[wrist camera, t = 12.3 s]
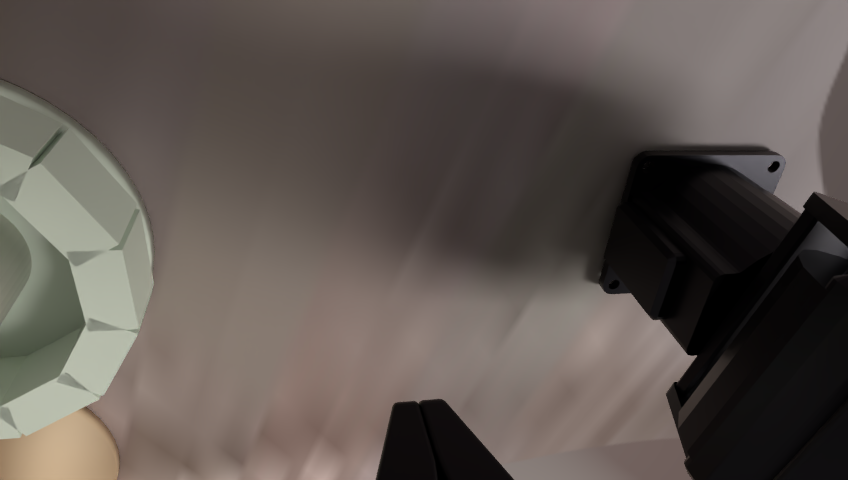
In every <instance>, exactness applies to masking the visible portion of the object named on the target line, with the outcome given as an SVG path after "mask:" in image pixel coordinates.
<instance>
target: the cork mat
mask: <svg viewBox="0 0 848 480" xmlns="http://www.w3.org/2000/svg"><path fill="white" fill-rule="evenodd" d="M119 466H120V457H119V451H118V447H117V445H116V442H115V439H114V438H113V436H112V434H111V433H110V431H109V429H108V428H107V427H106V426H105V425H104V423H103V422H102V421H101V420H100V419H99V418H98V417H97V416H96V415H95V414H94V413H92V412H91V411H90V410H89V409H87V408H86V407H83V408H81V409H79V410H77V411H75V412H73V413H71V414H69V415H67V416H65V417H63V418H61V419H59V420H57V421H55V422H53V423H52V424H50V425H48V426H46V427H44V428H42V429H40V430H38V431H36V432H34V433H32V434H30V435H28V436H25V435H24V434H23V433H22V435H21V437H20V438H12V439H0V480H117V476H118V472H119Z"/></svg>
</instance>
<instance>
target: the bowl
mask: <svg viewBox="0 0 848 480" xmlns="http://www.w3.org/2000/svg"><path fill="white" fill-rule="evenodd" d="M0 213H1V214H2V215H3V216H5V217H6V218H7V219H8V220H9V221H10V222H11V223H12V224H13V225H14V226H15V227H16V228H17V229H18V230H19V232H20V233H21V234H22V236H23V237H24V239H25V241H26V243H27V245H28V247H29V250H30V254H31V260H32V268H31V274H30V277H29V279H28V281H27V283H26V285H25V287H24V288H23V290H22V292H21V293H20V295H19V296H18V298H17V300H16V301H15V303H14V304H13V306H12V308H11V309H10V311H9V312H8V314H7V316H6V317H5V319H4V320H3V322H2V324H1V325H0V439H12V438H20V437H21V435H22V433H23V434H24V435H25V436H28V435H30V434H32V433H34V432H36V431H38V430H40V429H42V428H44V427H46V426H48V425H50V424H52V423H53V422H55V421H57V420H59V419H61V418H63V417H65V416H67V415H69V414H71V413H73V412H75V411H77V410H79V409H81V408H83V407H85V406H87V405H89V404H91V403H93V402H95V401H97V400H99V399H100V397H101V395H103V396H104V394H105V392H106V390H107V389H108V387H109V385H110V383H111V381H112V380H113V378H114V376H115V374H116V373H117V371H118V369H119V367H120V365H121V364H122V362H123V360H124V358H125V357H126V355H127V353H128V351H129V350H130V348H131V346H132V344H133V342H134V341H135V339H136V337H137V335H138V333H139V330H140V327H141V324H142V321H143V318H144V315H145V312H146V309H147V306H148V303H149V300H150V297H151V294H152V290H153V285H154V281H153V276H152V273H153V269H154V255H155V249H154V238H153V231H152V227H151V223H150V219H149V216H148V212H147V210H146V208H145V205H144V203H143V201H142V198H141V196H140V194H139V192H138V190H137V189H136V187H135V185H134V184H133V182H132V180H131V179H130V177H129V175H128V174H127V172H126V171H125V170H124V169H123V167H122V166H121V165H120V163H119V162H118V161H117V160H116V158H115V157H114V156H113V154H112V153H111V152H110V151H109V150H108V149H107V148H106V147H105V146H104V145H103V144H102V143H101V142H100V141H99V140H98V139H97V138H96V137H95V136H94V135H93V134H91V133H90V132H89V131H88V130H86V129H85V128H84V127H83V126H82V125H80V124H79V123H78V122H77V121H75V120H74V119H73V118H72V117H70V116H69V115H67V114H66V113H64V112H63V111H61V110H60V109H58V108H56V107H55V106H53V105H52V104H50V103H49V102H47V101H45V100H43V99H42V98H40V97H38V96H36V95H34V94H32V93H30V92H28V91H26V90H25V89H23V88H21V87H18V86H16V85H13V84H11V83H9V82H6V81H4V80H1V79H0Z"/></svg>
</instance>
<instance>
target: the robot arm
mask: <svg viewBox="0 0 848 480" xmlns="http://www.w3.org/2000/svg"><path fill="white" fill-rule="evenodd" d="M649 161H650V164H649V165H648V167H646V168H645V169H643V166H644V164H645V163H647V162H649ZM772 162H773V163H772ZM771 163H772V165H771V166H770V167H769V165H770V164H771ZM785 164H786V161H785V158H784V157H783V156H781V155H780V154H778V153H776V152H773V151H645V152H641V153H640V154H638V155H637V156H636V157H635V158H634V160H633V162H632V165H631V168H630V172H629V175H628V179H627V183H626V186H625V190H624V193H623V197H622V201H621V204H620V205H619V206H618V208H617V211H616V214H615V218H614V222H613V225H612V229H611V233H610V236H609V240H608V243H607V247H606V251H605V254H604V259H605V261H604V265H603V269H602V272H601V276H600V279H599V284H600V286H601V287H602V289H603V290H604V292H606V293H608V294H621V293H631V294H632V295H633V296H634V297H635V299H636V300H637V301H638V303H639V304H640V305H641V306H642V308H643V309H644V310H645V312H646V313H647V314H648V315H649V316H650V318H651V319H653V320H661V322H662V323H663V324H664V325H665V327H666V328H667V329H668V330H669V332H670V333H671V334H672V335H673V337H674V338H675V339H676V340H677V342H678V343H679V344H680V345H681V347H682V348H683V349H684V350H685V352H686V353H687V354H688V355H691V356H694V355H697V357H696V358H695V360H694V361H693V362H692V364H691V365H690V366H689V368H688V369H687V370H686V372H685V373H684V374H683V376H682V377H681V379H680V380H679V381H678V382H674V383H673V385H672V386H671V387H670V389H669V390H668V391H667V393H666V396H667V399H668V402H669V405H670V409H671V412H672V415H673V418H674V421H675V424H676V427H677V431H678V434H679V437H680V440H681V443H682V446H683V449H684V453H685V456H686V460H685V462H684V464H685V467H686V470H687V472H688V474H689V476H690V477H691V479H692V480H848V203H847V202H844V201H841V200H838V199H835V198H832V197H829V196H826V195H823V194H820V193H817V192H813V193H812V195H811V196H810V197H809V199H808V200H807V202H806V203H805V204H804V206H803V207H804V208H805V210H804V211H803V213H802V214H800V213H799V212H798V211H796V210H795V209H793V208H792V207H790V206H789V205H788V204H786V203H785V202H783V201H782V200H780V199H779V198H778V197H776V196H775V195H773V193H774V191H775V189H776V186H777V184H778V182H779V179H780V177H781V174H782V172H783V170H784V167H785ZM612 280H615V281H614V282H613V283H611V284H609V283H610V282H611V281H612ZM376 480H514V479H513V478H512V477H511V476H510V475H509V473H508V472H507V471H506V470H505V469H504V468H503V467H502V465H501V464H500V463H499V462H498V461H497V460H496V459H495V457H494V456H493V455H492V454H491V453H490V452H489V451H488V449H487V448H486V447H485V446H484V445H483V444H482V443H481V441H480V440H479V439H478V438H477V437H476V436H475V435H474V434H473V432H472V431H471V430H470V429H469V428H468V427H467V426H466V424H465V423H464V422H463V421H462V420H461V419H460V418H459V416H458V415H457V414H456V413H455V412H454V411H453V410H452V408H451V407H450V406H449V405H448V404H447V403H446V402H445V401H444V400H442V399H433V400H422V401H420V402H419V404H418V403H417V402H416V401H409V402H397V403H395V404H394V405H393V407H392V411H391V415H390V420H389V424H388V429H387V433H386V437H385V442H384V446H383V451H382V455H381V459H380V464H379V468H378V472H377V477H376Z"/></svg>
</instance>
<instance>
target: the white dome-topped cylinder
mask: <svg viewBox="0 0 848 480" xmlns="http://www.w3.org/2000/svg"><path fill="white" fill-rule="evenodd" d="M31 268H32V260H31V254H30V250H29V247H28V245H27V243H26V241H25V239H24V237H23V236H22V234H21V233H20V232H19V230H18V229H17V228H16V227H15V226H14V225H13V224H12V223H11V222H10V221H9V220H8V219H7V218H6V217H5V216H3V215H2V214H1V213H0V325H1V324H2V322H3V320H4V319H5V317H6V316H7V314H8V312H9V311H10V309H11V308H12V306H13V304H14V303H15V301H16V300H17V298H18V296H19V295H20V293H21V292H22V290H23V288H24V287H25V285H26V283H27V281H28V279H29V277H30V274H31Z"/></svg>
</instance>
